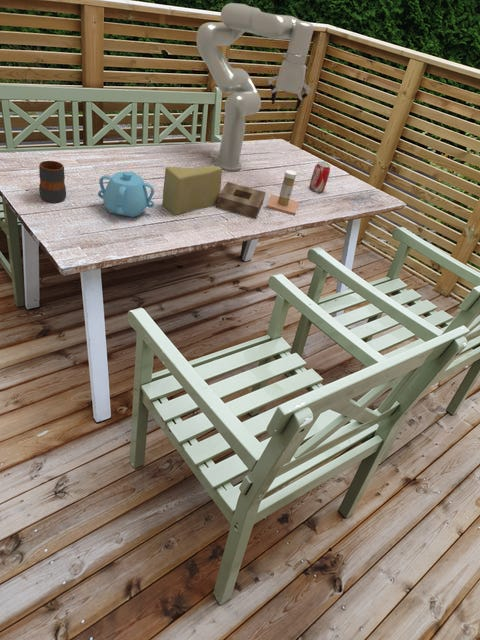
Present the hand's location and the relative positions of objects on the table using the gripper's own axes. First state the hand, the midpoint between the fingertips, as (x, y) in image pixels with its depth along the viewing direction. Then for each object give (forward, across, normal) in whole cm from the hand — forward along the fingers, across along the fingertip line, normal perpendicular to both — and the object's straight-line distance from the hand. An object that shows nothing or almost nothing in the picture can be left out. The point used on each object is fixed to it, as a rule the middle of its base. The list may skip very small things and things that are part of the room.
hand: (284, 106), depth 194 cm
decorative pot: (+34, -42, -56) cm, 78 cm away
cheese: (+34, -22, -40) cm, 57 cm away
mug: (+34, -67, -61) cm, 97 cm away
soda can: (+34, +22, +10) cm, 41 cm away
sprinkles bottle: (+32, +10, -17) cm, 38 cm away
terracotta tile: (+33, +10, -17) cm, 39 cm away
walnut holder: (+33, -6, -27) cm, 43 cm away
